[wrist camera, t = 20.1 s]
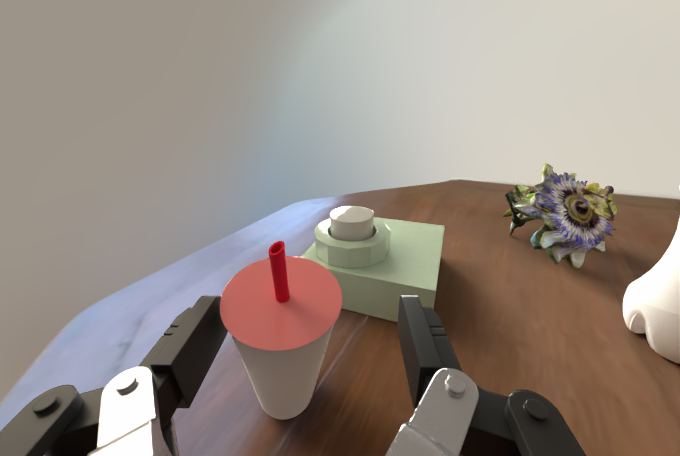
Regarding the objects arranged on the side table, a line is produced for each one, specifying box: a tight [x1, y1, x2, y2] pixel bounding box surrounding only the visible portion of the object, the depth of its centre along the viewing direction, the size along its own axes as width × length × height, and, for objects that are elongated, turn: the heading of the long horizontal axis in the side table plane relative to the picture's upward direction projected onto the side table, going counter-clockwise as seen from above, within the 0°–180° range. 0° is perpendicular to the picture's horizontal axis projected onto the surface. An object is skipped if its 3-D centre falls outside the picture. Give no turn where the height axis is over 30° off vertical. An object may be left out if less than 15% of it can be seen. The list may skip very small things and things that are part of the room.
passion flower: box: [503, 163, 617, 269], centre depth 32 cm, size 11×11×12 cm
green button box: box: [301, 217, 445, 323], centre depth 28 cm, size 12×12×6 cm
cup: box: [220, 241, 342, 419], centre depth 14 cm, size 5×5×12 cm
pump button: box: [330, 206, 374, 242], centre depth 25 cm, size 4×4×2 cm
